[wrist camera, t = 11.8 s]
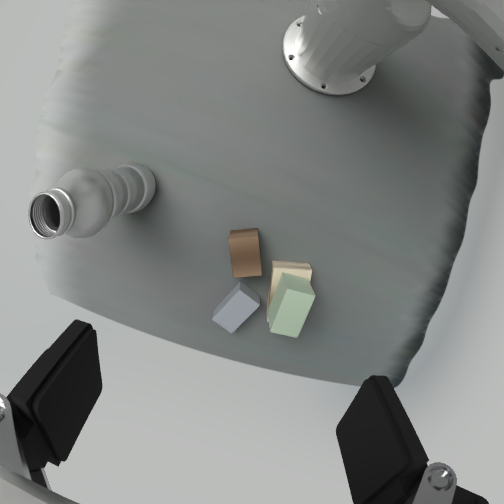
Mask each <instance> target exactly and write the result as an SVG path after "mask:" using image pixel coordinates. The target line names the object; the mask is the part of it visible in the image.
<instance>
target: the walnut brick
mask: <svg viewBox="0 0 504 504" xmlns="http://www.w3.org/2000/svg"><path fill="white" fill-rule="evenodd" d="M228 239H229V247H230V255H231V263H232V271H233V278H237V277H248V276H259V275H262V272H261V260H260V249H259V239H258V228H252V229H242V230H232V231H230V235H229V238H228Z"/></svg>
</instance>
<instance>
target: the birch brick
mask: <svg viewBox="0 0 504 504" xmlns="http://www.w3.org/2000/svg"><path fill="white" fill-rule="evenodd" d="M282 272H285V273H289V274H292V275H296V276H300V277H303V278H307V279H308V280H309V283H310V281H311V274H312V269H311V267H310V265H309V263H298V262H285V261H272V266H271V276H270V284H269V293H268V302H267V310H266V315H267V322H269V318H268V309H269V307H270V304H271V301H272V299H273V296H274V293H275V291H276V288H277V285H278V282H279V280H280V277H281V274H282Z"/></svg>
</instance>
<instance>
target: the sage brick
mask: <svg viewBox="0 0 504 504" xmlns="http://www.w3.org/2000/svg"><path fill="white" fill-rule="evenodd" d="M314 299H315V294H314V291H313V289H312V287H311V285H310V283H309V280H308V279H307V278H303V277H300V276H296V275H292V274H289V273H285V272H282V274H281V277H280V280H279V282H278V285H277V288H276V291H275V293H274V296H273V299H272V301H271V304H270V307H269V309H268V318H269V327H270V332H273V333H277V334H282V335H286V336H291V337H295V338H297V337H298V335H299V333H300V331H301V328H302V326H303V324H304V322H305V319H306V317H307V315H308V312H309V310H310V308H311V306H312V303H313V301H314Z"/></svg>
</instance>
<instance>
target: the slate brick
mask: <svg viewBox="0 0 504 504" xmlns="http://www.w3.org/2000/svg"><path fill="white" fill-rule="evenodd" d="M259 306H260V296H259V295H258V294H257V293H255V292H254V291H253V290H251V289H250V288H249V287H248V286H246V285H245V284H244V283H242V282H241V281H240V282H239V283H238V284H237V285H236V286H235V287H234V288H233V290H232V291H231V292H230V293H229V294H228V295H227V296H226V297H225V298H224V299H223V300H222V302H221V303H220V304H219V305H218V306H217V307H216V308H215V309H214V312H213V316H212V320H213V321H215V322H216V323H217V324H219V325H220V326H222V327H223V328H225V329H226V330H227V331H229V332H230V333H233V332H234V331H235V330H236V329H237V328H238V327H239V326H240V325H241V324H242V323H243V322H244V321H245V320H246V319H247V318H248V317H249V316H250V315H251V314H252V313H253V312H254V311H255V310H256V309H257V308H258V307H259Z"/></svg>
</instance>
